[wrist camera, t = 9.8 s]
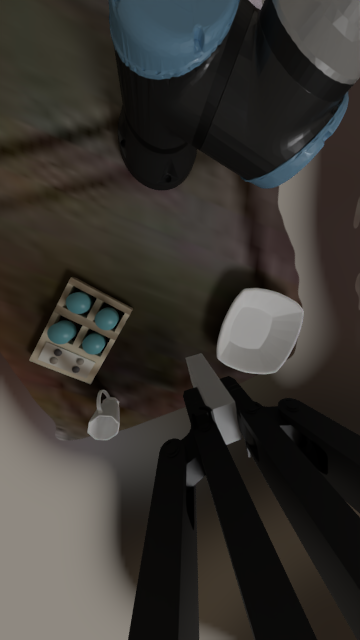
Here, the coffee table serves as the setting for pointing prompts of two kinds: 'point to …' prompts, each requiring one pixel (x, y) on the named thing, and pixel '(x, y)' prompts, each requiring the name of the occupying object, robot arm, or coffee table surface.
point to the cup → (105, 418)
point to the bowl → (259, 331)
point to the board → (78, 336)
